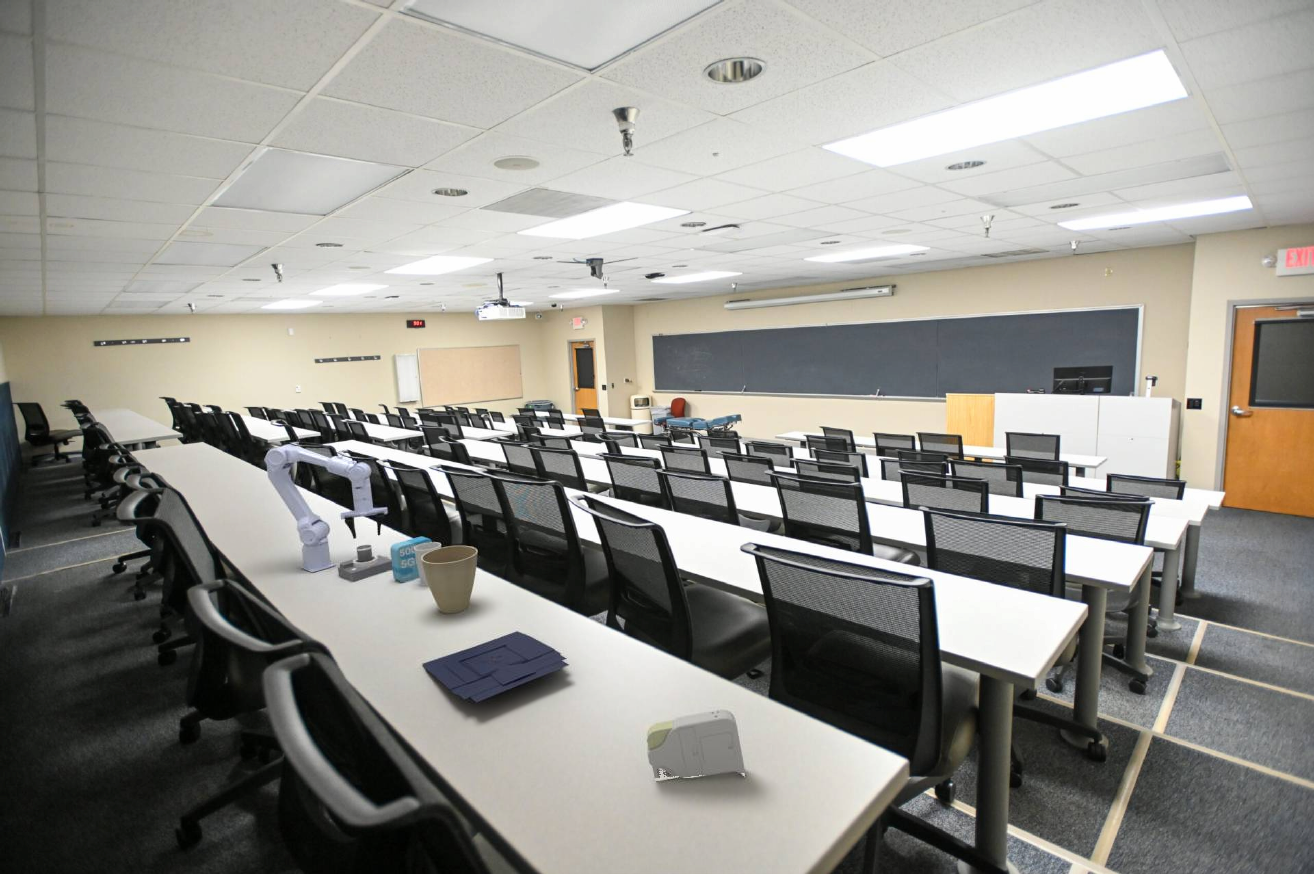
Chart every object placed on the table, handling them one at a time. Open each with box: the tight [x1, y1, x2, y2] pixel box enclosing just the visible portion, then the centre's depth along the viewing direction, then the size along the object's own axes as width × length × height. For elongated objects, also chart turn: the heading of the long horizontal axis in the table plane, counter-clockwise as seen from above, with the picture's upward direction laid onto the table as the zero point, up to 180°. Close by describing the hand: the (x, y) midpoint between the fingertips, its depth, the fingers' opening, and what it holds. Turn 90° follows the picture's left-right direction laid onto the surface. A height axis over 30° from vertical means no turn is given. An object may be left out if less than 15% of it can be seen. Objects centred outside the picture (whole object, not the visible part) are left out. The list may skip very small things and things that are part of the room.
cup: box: [414, 541, 442, 588], centre depth 189 cm, size 8×8×12 cm
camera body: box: [337, 555, 393, 583], centre depth 201 cm, size 10×14×4 cm
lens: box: [355, 544, 373, 563], centre depth 200 cm, size 4×4×6 cm
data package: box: [389, 536, 433, 583], centre depth 195 cm, size 12×4×12 cm, turn 140°
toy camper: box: [646, 709, 746, 779], centre depth 98 cm, size 11×3×15 cm
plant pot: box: [421, 545, 478, 614], centre depth 168 cm, size 15×15×16 cm
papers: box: [422, 630, 570, 703], centre depth 133 cm, size 24×30×4 cm
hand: (367, 536), depth 209 cm, fingers open, 7 cm apart
